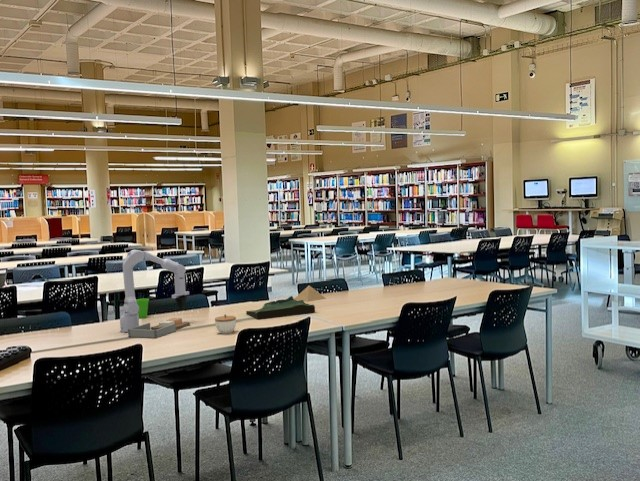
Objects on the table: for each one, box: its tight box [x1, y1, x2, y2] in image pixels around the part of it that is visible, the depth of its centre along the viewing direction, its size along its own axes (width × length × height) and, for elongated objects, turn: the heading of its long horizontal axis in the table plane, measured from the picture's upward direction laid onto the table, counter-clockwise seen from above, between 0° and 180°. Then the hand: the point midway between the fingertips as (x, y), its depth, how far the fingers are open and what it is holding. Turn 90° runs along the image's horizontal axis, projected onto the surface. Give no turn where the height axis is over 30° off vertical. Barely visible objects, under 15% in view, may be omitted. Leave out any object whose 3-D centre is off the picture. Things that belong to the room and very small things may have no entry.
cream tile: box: [158, 320, 175, 327], centre depth 327 cm, size 6×6×2 cm
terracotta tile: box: [165, 317, 183, 325], centre depth 333 cm, size 6×6×2 cm
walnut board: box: [150, 321, 191, 331], centre depth 330 cm, size 14×16×2 cm
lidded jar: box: [214, 313, 237, 335], centre depth 311 cm, size 11×11×9 cm
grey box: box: [127, 322, 177, 339], centre depth 315 cm, size 17×17×4 cm
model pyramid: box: [293, 285, 327, 303], centre depth 412 cm, size 17×17×10 cm
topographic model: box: [245, 295, 316, 321], centre depth 360 cm, size 36×22×10 cm, turn 114°
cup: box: [136, 298, 150, 319], centre depth 365 cm, size 9×9×11 cm
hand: (181, 309), depth 340 cm, fingers closed
